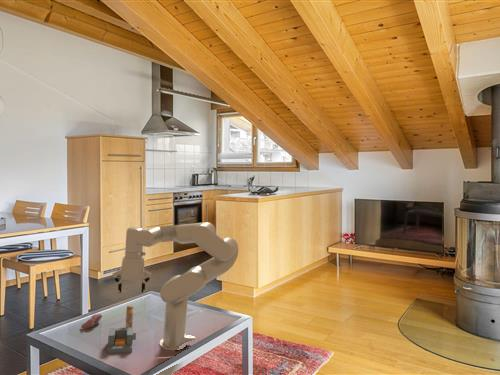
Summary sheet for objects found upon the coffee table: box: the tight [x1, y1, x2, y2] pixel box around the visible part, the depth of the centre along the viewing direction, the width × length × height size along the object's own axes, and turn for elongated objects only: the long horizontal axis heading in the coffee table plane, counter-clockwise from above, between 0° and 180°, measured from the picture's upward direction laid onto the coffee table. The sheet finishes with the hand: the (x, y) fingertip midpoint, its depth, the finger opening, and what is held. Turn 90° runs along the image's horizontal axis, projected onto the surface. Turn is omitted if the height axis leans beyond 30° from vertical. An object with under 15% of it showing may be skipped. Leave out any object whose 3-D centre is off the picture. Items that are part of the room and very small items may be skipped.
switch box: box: [106, 326, 134, 354], centre depth 170 cm, size 10×10×7 cm
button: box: [114, 338, 126, 346], centre depth 170 cm, size 4×4×2 cm
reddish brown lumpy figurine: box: [81, 313, 103, 330], centre depth 189 cm, size 10×5×7 cm
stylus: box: [124, 304, 135, 328], centre depth 180 cm, size 3×3×14 cm
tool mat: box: [133, 332, 137, 341], centre depth 180 cm, size 7×7×1 cm
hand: (131, 291), depth 179 cm, fingers open, 9 cm apart
